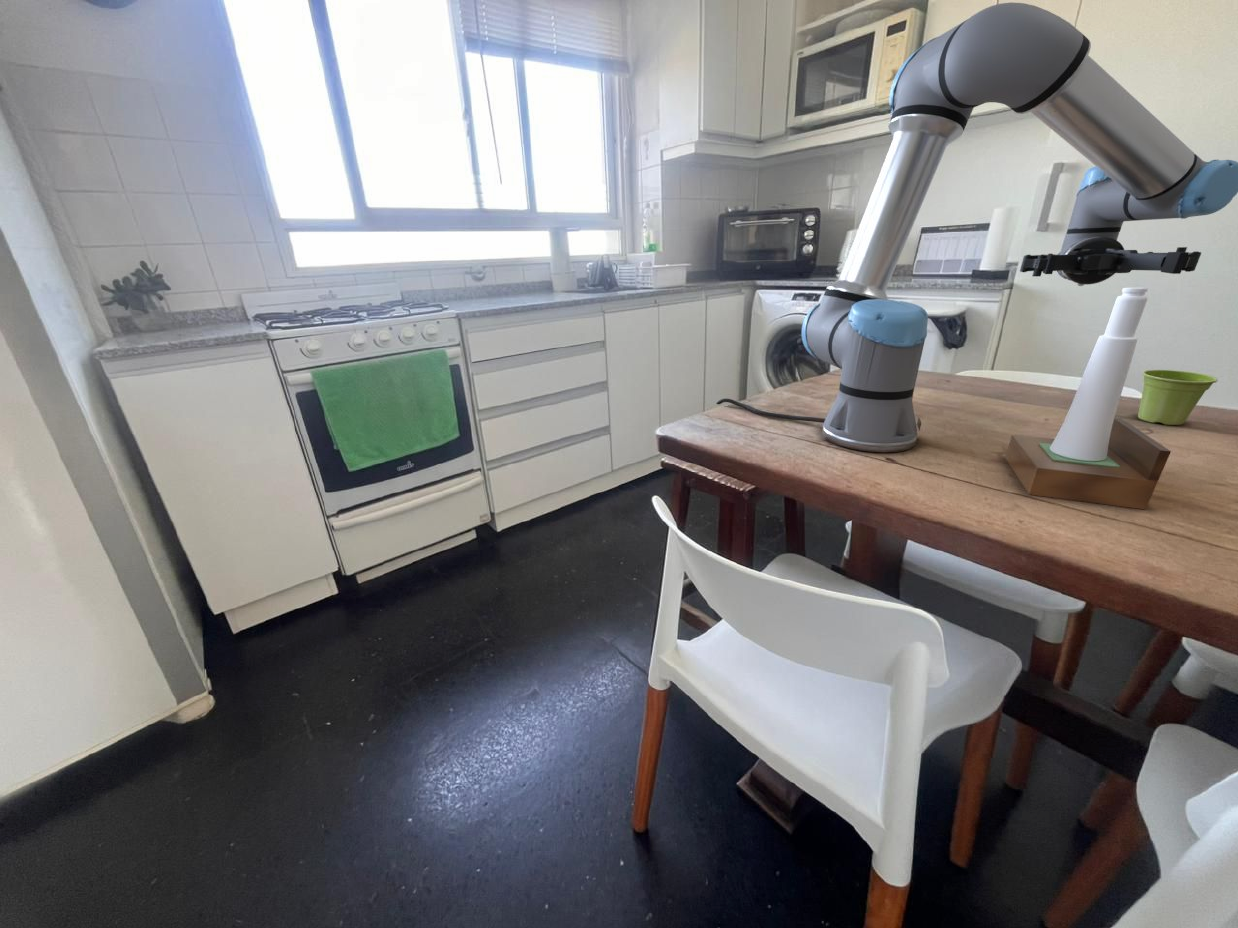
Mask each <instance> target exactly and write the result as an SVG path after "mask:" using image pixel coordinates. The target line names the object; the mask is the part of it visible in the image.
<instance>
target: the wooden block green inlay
mask: <svg viewBox="0 0 1238 928" xmlns="http://www.w3.org/2000/svg"><path fill="white" fill-rule="evenodd" d="M1054 439H1055V438H1051V437H1041V436H1028V435H1018V434H1011V437H1010V439H1009V440H1010V441H1009V444H1008V446H1007V451H1006V454H1005V457H1004V459H1005V460H1006V462H1007V464H1008V465H1009V466H1010V468H1011V469H1012V471H1013V472H1014V474H1015V475H1016V477H1017V479H1018V480H1019V482H1020V483H1021V484H1022V486H1023V488H1024V489H1025V491H1026V492H1027V494H1028V495H1029V496H1030V495H1031V496H1036V497H1037V496H1039V497H1044V498H1045V497H1046V498H1054V499H1059V500H1068V501H1076V502H1085V503H1091V504H1101V505H1107V506H1115V507H1122V508H1129V509H1130V508H1131V509H1139V510H1147V508H1148V505H1149V503H1150V501H1151V498H1152V496H1153V493H1154V492H1155V489H1156V487H1157V484H1158V483H1159V480H1160V478H1161V475H1162V473H1163V471H1164V469H1165V466H1166V464H1167V463H1168V462H1167V461H1168V459H1169V458H1170V455H1171V452H1172V450H1170V449H1168V448H1167V447H1165V446H1164V445H1162V444H1161V443H1159V442H1158V441H1156V440H1155V439H1154V438H1152V437H1150V436H1149V435H1147V434H1146V433H1144V432H1143V431H1141V430H1140V429H1139V428H1137V427H1136V426H1134V425H1132V424H1131V423H1129V422H1128V421H1126V420H1125V419H1124V418H1122V417H1114V421H1113V425H1112V429H1111V433H1110V439H1109V444H1108V452H1107V458H1106V459H1105V460H1102V461H1081V460H1075V459H1070V458H1066V457H1062V456H1059V455H1057V454H1055V453H1053V452H1052V451H1051V450H1050V446H1051V444H1052V443H1053V441H1054Z"/></svg>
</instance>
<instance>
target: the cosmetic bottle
mask: <svg viewBox="0 0 1238 928" xmlns="http://www.w3.org/2000/svg"><path fill="white" fill-rule="evenodd" d="M1148 290H1149V288H1148V287H1140V286H1139V287H1137V286H1136V287H1135V286H1134V287H1131V286H1130V287H1129V286H1127V287H1123V288H1122V290H1121V293H1122V294H1121V295H1118V296H1117V297H1116V299H1115V301H1114V304H1113V307H1112V311H1111V313H1110V316H1109V319H1108V322H1107V325H1106V328H1105V331H1104V334H1100V335H1099V336H1098V338H1097V340H1096V343H1095V345H1094V348H1093V350H1092V352H1091V355H1090V357H1089V360H1088V362H1087V364H1086V367H1085V369H1084V372H1083V375H1082V377H1081V379H1080V382H1079V385H1078V387H1077V390H1076V392H1075V395H1074V396H1073V399H1072V402H1071V404H1070V406H1069V409H1068V411H1067V414H1066V415H1065V418H1064V420H1063V422H1062V424H1061V426H1060V428H1059V430H1058V432H1057V434H1056V436H1055V438H1053V439H1054V441H1053V443H1052V444H1051V446H1050V450H1051V451H1052V452H1053V453H1055V454H1057V455H1059V456H1062V457H1066V458H1070V459H1075V460H1081V461H1102V460H1105V459H1106V458H1107V452H1108V444H1109V439H1110V433H1111V429H1112V425H1113V421H1114V418H1116V417H1115V416H1116V413H1117V409H1118V406H1119V403H1120V399H1121V396H1122V393H1123V391H1124V386H1125V384H1126V380H1127V376H1128V373H1129V370H1130V367H1131V363H1132V361H1133V360H1132V359H1133V357H1134V353H1135V350H1136V347H1137V343H1138V337H1136V336H1135V334H1136V333H1137V332H1136V331H1137V329H1138V326H1139V324H1140V321H1141V318H1142V315H1143V313H1144V310H1145V307H1146V305H1147V302H1148V296H1147V295H1145V294H1146V293H1147V292H1148Z"/></svg>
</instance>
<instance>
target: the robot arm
mask: <svg viewBox="0 0 1238 928" xmlns="http://www.w3.org/2000/svg"><path fill="white" fill-rule="evenodd" d="M1091 48H1092V43H1091V41H1090V39H1089V38H1088V37H1087V36H1085V35H1084V33H1083V32H1081V31H1080V30H1078V28H1076V27H1075V26H1074V25H1073V24H1072V23H1070V22H1069V21H1067V20H1066V19H1064V18H1063V17H1061V16H1060V15H1057V14H1055V13H1053V12H1051V11H1049V10H1047V9H1044V8H1042V7H1039V6H1037V5H1034V4H1028V3H1024V2H1003V3H998V4H994V5H991V6H988V7H985V8H983V9H981V10H979V11H978V12H976V13H974V14H973V15H971V16H970V17H969V18H967V19H965V20H964V21H963V22H961V23H959V24H956V26H953V27H952V28H949V30H947V31H945V32H944V33H942V34H940V35H938V36H936V37H934V38H932V39H930V40H928V41H927V42H925V43H924V44H922V45H921V46H920V47H919V48H917V50H915V52H913V53H912V54H911V55H910V56H909V57H908V58H907V59H906V60H904V62H903V64H902V65H901V66H900V67H899V70H898V71H897V72H896V74H895V76H894V78H893V81H892V84H891V87H890V90H889V98H888V104H889V106H890V109H891V111H890V115H891V118H890V120H889V123H888V130H889V132H890V134H891V137H892V140H891V143H890V145H889V148H888V151H887V153H886V156H885V159H884V160H883V164H882V166H881V168H880V172H879V174H878V175H877V179H876V181H875V184H874V187H873V189H872V192H871V195H870V197H869V199H868V202H867V205H866V207H865V211H864V213H863V214H862V215H863V216H862V218H861V221H860V223H859V225H858V228H857V231H856V234H855V235H854V238H853V241H852V243H851V246H850V248H849V252H848V254H847V256H846V259H845V262H844V264H843V267H842V269H841V272H840V275H839V277H838V278H837V280H836V281H835V282H833V283H831V284H829V285H827V286H826V289H825V291H824V293H823V297H822V299H821V301H820V302H819V303H818V304H816V305H815V306H814V307H812V308H811V309H810V310H809V311H808V312H807V314H806V316H805V317H804V319H803V322H802V325H801V340H802V344H803V347H804V348H805V349H806V351H807V353H809V355H810V356H812V357H813V358H815V359H816V360H818V361H819V362H820V363H823V364H827V365H831V366H833V367H835V368H838V369H840V370H841V373H840V380H839V387H838V393H837V396H836V397H835V399H834V402H833V403H832V406H831V407H830V409H829V411H828V413H827V415H826V417H824V418H823V417H813V416H804V415H803V416H801V415H791V414H784V413H777V412H776V413H775V412H769V411H765V410H760V409H757V408H755V407H752V406H751V405H748V404H745V403H743V402H742V403H741V402H739V401H738V400H734V399H731V398H721V399H719V400H717V402H716V404H715V405H721V404H723V403H728V404H732V405H734V406H736V407H739V408H743V409H745V410H747V411H750V412H752V413H755V414H757V415H760V416H764V417H765V416H766V417H770V418H776V419H784V420H793V421H801V422H802V421H804V422H805V421H806V422H814V423H823V424H822V430H821V431H822V432H821V434H822V437H823V438H824V439H826V440H827V441H829V442H830V443H832V444H835V445H837V446H839V447H844V448H847V449H852V450H856V451H861V452H862V451H863V452H870V453H895V452H896V453H897V452H903V451H906V450H910V449H912V448H913V447H915V445H916V442H917V438H918V431H919V432H920V431H921V427H922V420H921V419H920V417H919V416H918V417H917V421H916V416H915V410H914V403H913V397H914V392H915V388H916V382H917V379H918V375H919V374H918V372H919V369H920V365H921V358H922V355H923V351H924V346H925V341H926V338H927V336H928V322H929V315H928V312H927V310H926V309H925V308H923V307H922V306H920V305H918V304H915V303H912V302H908V301H903V300H900V301H899V300H895V299H894V300H893V299H889V297H888V294H887V288H888V287H889V284H890V281H891V279H892V276H893V274H894V272H895V269H896V267H897V264H898V262H899V260H900V258H901V255H902V253H903V251H904V248H905V246H906V244H907V241H908V239H909V236H910V234H911V232H912V229H913V226H914V224H915V222H916V221H917V220H916V219H917V218H918V214H919V212H920V210H921V207H922V205H923V203H924V200H925V198H926V196H927V194H928V191H929V189H930V186H931V184H932V181H933V179H934V178H935V174H936V173H937V170H938V167H939V165H940V163H941V161H942V158H943V155H944V153H945V150H946V148H947V147H948V146H949V145H950V144H952V143H953V142H955V141H957V140H958V139H960V138H961V137H962V135H963V133H964V131H965V129H966V126H967V124H968V122H969V119H970V118H971V115H972V113H973V110H974V108H977V107H979V106H982V105H983V104H988V103H996V104H997V103H998V104H1002V105H1005V106H1006V107H1009V108H1010V109H1011V110H1012V111H1013V112H1014V113H1016V114H1018V115H1024V114H1028V113H1031V114H1032V115H1033V116H1035V117H1036V118H1037V119H1039V120H1040V121H1041V122H1042V123H1043V124H1045V126H1047V127H1048V128H1049V129H1050V130H1052V131H1053V132H1054V133H1055V134H1056V135H1057V136H1059V138H1061V139H1063V141H1065V142H1066V143H1068V144H1069V145H1070V146H1071V147H1072V148H1073V149H1075V150H1076V151H1077V152H1078V153H1080V154H1081V155H1082V156H1083V157H1084V158H1085V159H1087V160H1088V161H1089V162H1090V163H1092V164H1093V165H1094V166H1092V167H1091V168H1089V169H1088V170H1087V171H1085V173H1084V175H1083V178H1082V181H1081V183H1080V186H1079V189H1078V190H1077V192H1076V198H1075V202H1074V205H1073V209H1072V212H1071V216H1070V220H1069V223H1068V227H1067V230H1066V233H1065V235H1064V238H1063V242H1062V245H1061V249H1060V251H1059V252H1058V253H1057V254H1055V253H1047V254H1045V253H1044V254H1034V255H1033V254H1032V255H1031V254H1025V255H1023V257H1022V261H1021V266H1020V269H1019V272H1020V273H1027V272H1032V277H1042V273H1043V274H1044V275H1053V273H1054V272H1057V274H1058V275H1059V276H1060V277H1061V278H1063V279H1065V280H1068V281H1071V282H1074V283H1076V284H1077V286H1078V287H1083V286H1085V285H1095V284H1100V283H1101V282H1105V281H1106V280H1109V278H1111V277H1113V276H1114V275H1115V274H1130V273H1131V271H1155V272H1156V271H1157V272H1158V271H1159V272H1160V273H1163V274H1164V273H1165V274H1172V275H1176V274H1177V275H1181V273H1182V272H1187V273H1189V272H1190V273H1191V272H1195V270H1196V268H1197V265H1198V263H1199V260H1200V258H1201V256H1202V252H1201V251H1198V250H1197V251H1191V252H1188V251H1187V250H1188V246H1182V247H1181V246H1179V247H1177V248H1176V250H1175V251H1168V252H1153V251H1147V252H1138V250H1137V249H1125V248H1124V246H1123V245H1122V243H1121V242H1119V240H1118V239H1119V235H1120V233H1121V230H1122V227H1123V224H1124V222H1133V221H1134V222H1135V221H1151V220H1153V221H1154V220H1168V219H1169V220H1171V219H1181V220H1183V219H1187V218H1192V217H1193V218H1194V217H1201V216H1208V215H1212V214H1215V213H1217V212H1219V211H1221V210H1223V209H1224V208H1226V206H1227V205H1229V204H1230V203H1231V201H1232V200H1233V199H1234V197H1235V196H1237V194H1238V161H1236V160H1232V159H1221V160H1220V159H1212V160H1210V161H1205V160H1203V159H1202V158H1201V157H1200V156H1198V155H1197V154H1196V153H1195V152H1194V151H1193V150H1192V149H1191V148H1190V147H1188V145H1187V144H1185V143H1184V142H1183V141H1182V140H1181V139H1180V138H1179V137H1178V136H1177V135H1176V134H1174V132H1172V131H1171V130H1170V129H1169V128H1168V127H1167V126H1166V125H1165V124H1163V122H1162V121H1160V120H1159V119H1158V118H1157V117H1156V116H1155V115H1154V114H1153V113H1151V111H1149V110H1148V109H1147V108H1146V107H1145V106H1144V105H1143V104H1142V103H1141V102H1140V101H1139V100H1137V98H1135V97H1134V96H1133V95H1132V94H1131V93H1130V92H1129V91H1128V90H1127V89H1126V88H1124V86H1122V84H1121V83H1119V82H1118V81H1117V80H1116V79H1115V78H1114V77H1112V76H1111V74H1109V73H1108V72H1107V71H1106V70H1105V69H1104V68H1103V67H1102V66H1101V65H1099V64H1098V63H1097V62H1096V60H1094V59H1093V58H1092V57H1091V56H1090V55H1089V54H1090V51H1091Z"/></svg>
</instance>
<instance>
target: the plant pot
mask: <svg viewBox="0 0 1238 928" xmlns="http://www.w3.org/2000/svg"><path fill="white" fill-rule="evenodd" d="M1141 374H1142V375H1143V389H1142V394H1141V398H1140V403H1139V408H1138V413H1137V417H1138V419H1139V420H1141V421H1145V422H1147V423H1152V424H1153V423H1161V424H1163V425H1165V426H1181V425H1184V423H1186V421H1187V419H1188V417H1189V416H1190V415H1191V413H1192V412H1193V410H1194V409H1195V407H1196V406H1197V404H1198V403H1199V401H1200V400H1201V399H1202V397H1203V396H1204V394H1205V393H1206V391H1208V390H1209V389H1210V388H1211V386H1212V385H1213V384H1215V383H1217V382H1218V381H1219V378H1217V377H1215V376H1213V375H1209V374H1205V373H1200V372H1192V371H1185V370H1173V369H1171V370H1170V369H1148V370H1143V371H1142V373H1141Z"/></svg>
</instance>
